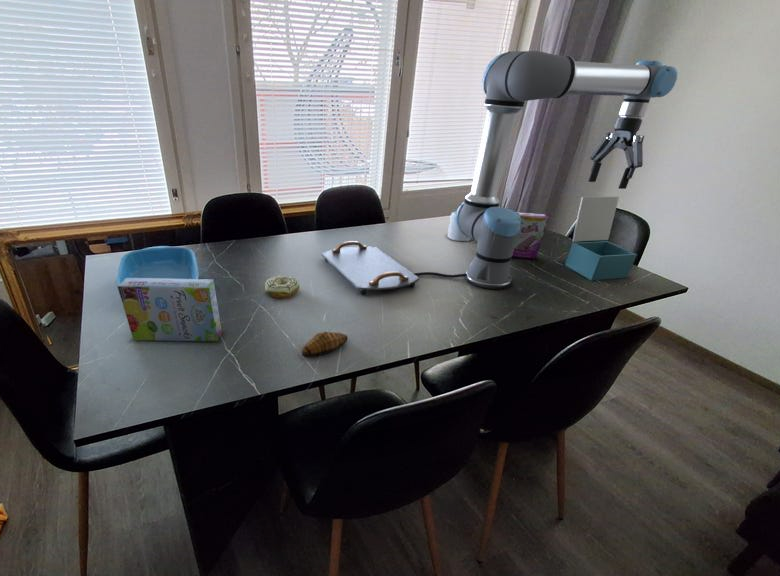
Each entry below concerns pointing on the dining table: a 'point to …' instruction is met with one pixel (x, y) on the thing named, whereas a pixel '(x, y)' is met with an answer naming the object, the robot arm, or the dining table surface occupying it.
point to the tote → (600, 260)
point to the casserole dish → (158, 264)
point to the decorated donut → (281, 286)
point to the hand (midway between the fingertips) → (606, 185)
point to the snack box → (171, 309)
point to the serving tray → (369, 267)
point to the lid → (595, 218)
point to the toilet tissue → (455, 230)
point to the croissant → (324, 343)
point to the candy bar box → (529, 235)
